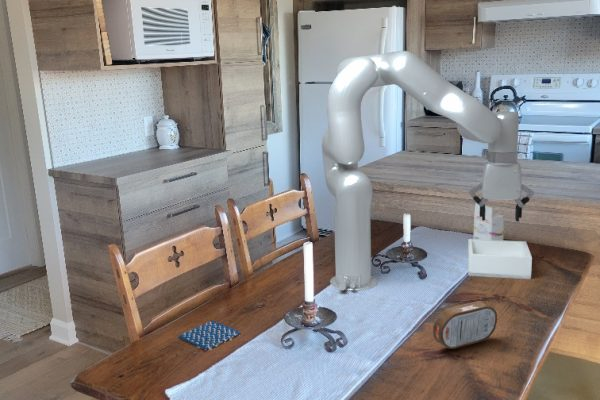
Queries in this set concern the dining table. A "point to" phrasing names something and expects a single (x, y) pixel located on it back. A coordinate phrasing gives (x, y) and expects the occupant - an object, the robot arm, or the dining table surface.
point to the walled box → (499, 259)
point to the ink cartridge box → (488, 225)
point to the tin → (465, 324)
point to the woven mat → (209, 335)
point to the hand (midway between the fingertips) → (500, 219)
